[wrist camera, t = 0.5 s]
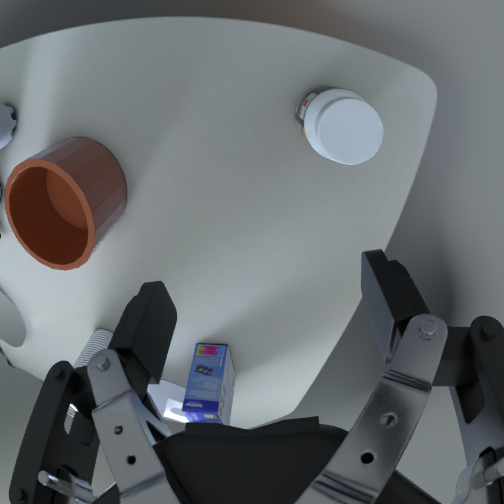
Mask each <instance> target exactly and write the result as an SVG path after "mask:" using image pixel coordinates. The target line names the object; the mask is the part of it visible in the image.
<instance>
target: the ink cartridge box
mask: <svg viewBox="0 0 504 504" xmlns="http://www.w3.org/2000/svg"><path fill="white" fill-rule="evenodd" d="M234 385H235V373H234V368H233V364H232V360H231V355H230V351H229V347H228V345H211V344H196V348H195V352H194V356H193V361H192V365H191V370H190V374H189V379H188V383H187V388H186V392H185V397H184V401H183V405H182V409H181V410H182V412H183V413H184V415H185V416H186V418H187V419H188V421H189V422H199V423H219V424H224V425H228V426H229V425H230V417H231V409H232V401H233V393H234Z"/></svg>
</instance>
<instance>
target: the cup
mask: <svg viewBox="0 0 504 504" xmlns="http://www.w3.org/2000/svg"><path fill="white" fill-rule="evenodd" d="M113 334H114V333H112V332H110V331H107V330H104V329H98V330H96V331H94V333H93V335H92V336H91V338H90V339H89V341H88V343H87V344H86V346H85V348H84V349H83V351H82V352H81V354H80V356H79V357H78V359H77V361H76V362H75V364H74V366H73V367H74V368H78V367H82V366H85V365H88V362H89V360H90V359H91V357H92V356H93V355H94V354H95V353H97V352H98V351H100V350H103V349H107V348H108V345H109V343H110V341H111V338H112V336H113ZM75 412H76V410H75V409H74V408H73V407H72V406H71V405H70V406H69V409H68V412H67V415H69V416H71V417H72V418H74V415H75Z"/></svg>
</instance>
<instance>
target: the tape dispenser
mask: <svg viewBox="0 0 504 504" xmlns="http://www.w3.org/2000/svg"><path fill="white" fill-rule="evenodd" d="M147 391H148V392H149V393H150V395H151V397H152V399H153V401H154V403H155V405H156V407H157V408H158V410H159V412H160V414H161V416H162V418H163V416H166V417H169V418H172V419H175V420H179V421H182V422H189V421H188V419H187V418H186V416H185V415H184V413H183V412H182V410H181V409H182V405H183V401H184V397H185V392H186V388H184V387H181V386H179V385H176V384H173V383H170V382H168V381H165V380H162V379H161V380H160V383H159V384H149V385H148V388H147Z"/></svg>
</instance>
